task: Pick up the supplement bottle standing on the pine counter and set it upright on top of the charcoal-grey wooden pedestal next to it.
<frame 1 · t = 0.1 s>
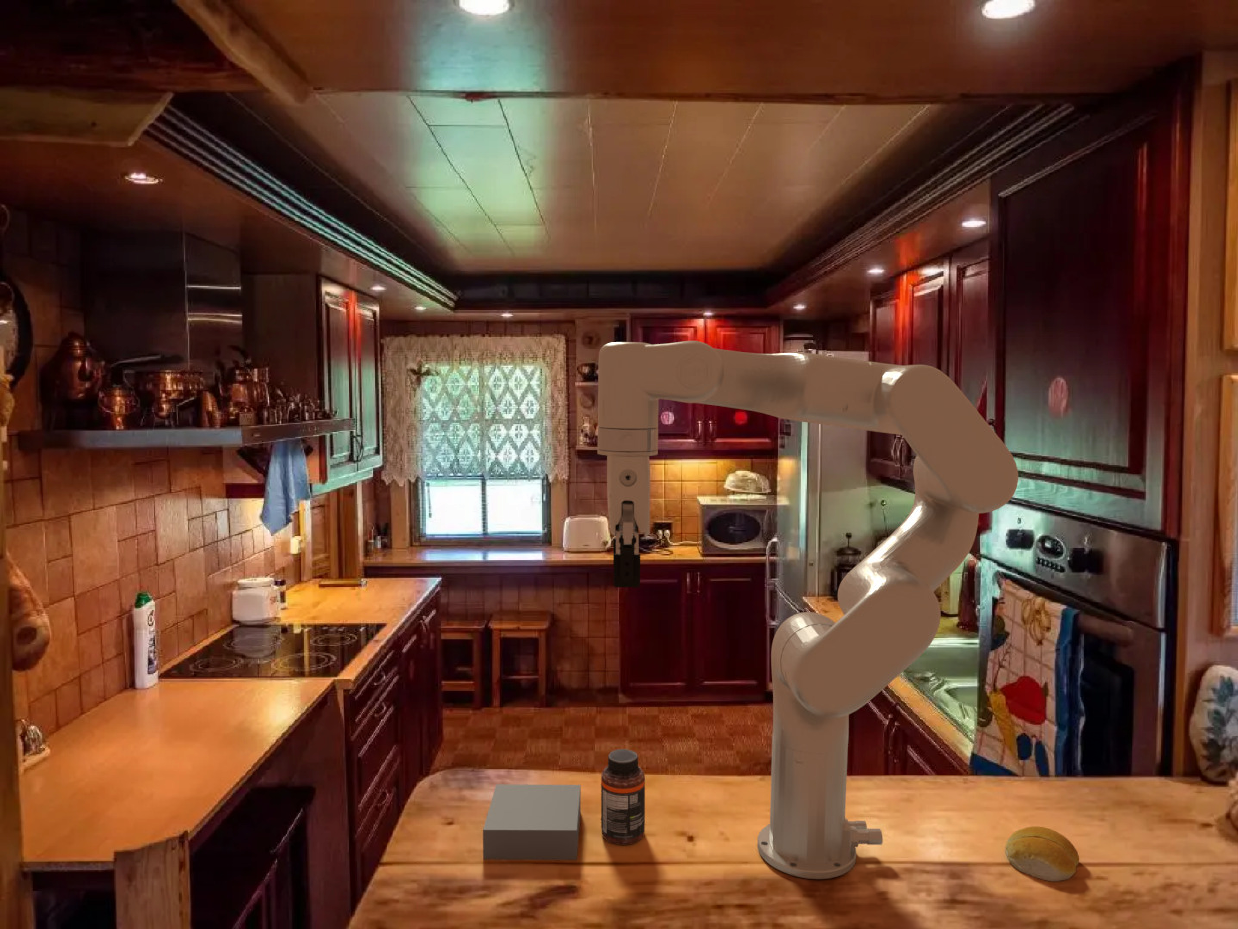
hand: (625, 577, 104), 37 cm above the worktop, tool pointing down, fingers open, 9 cm apart
supplement bottle: (622, 836, 112), on the worktop
bread roll: (1041, 865, 106), on the worktop
pedestal: (534, 834, 112), on the worktop
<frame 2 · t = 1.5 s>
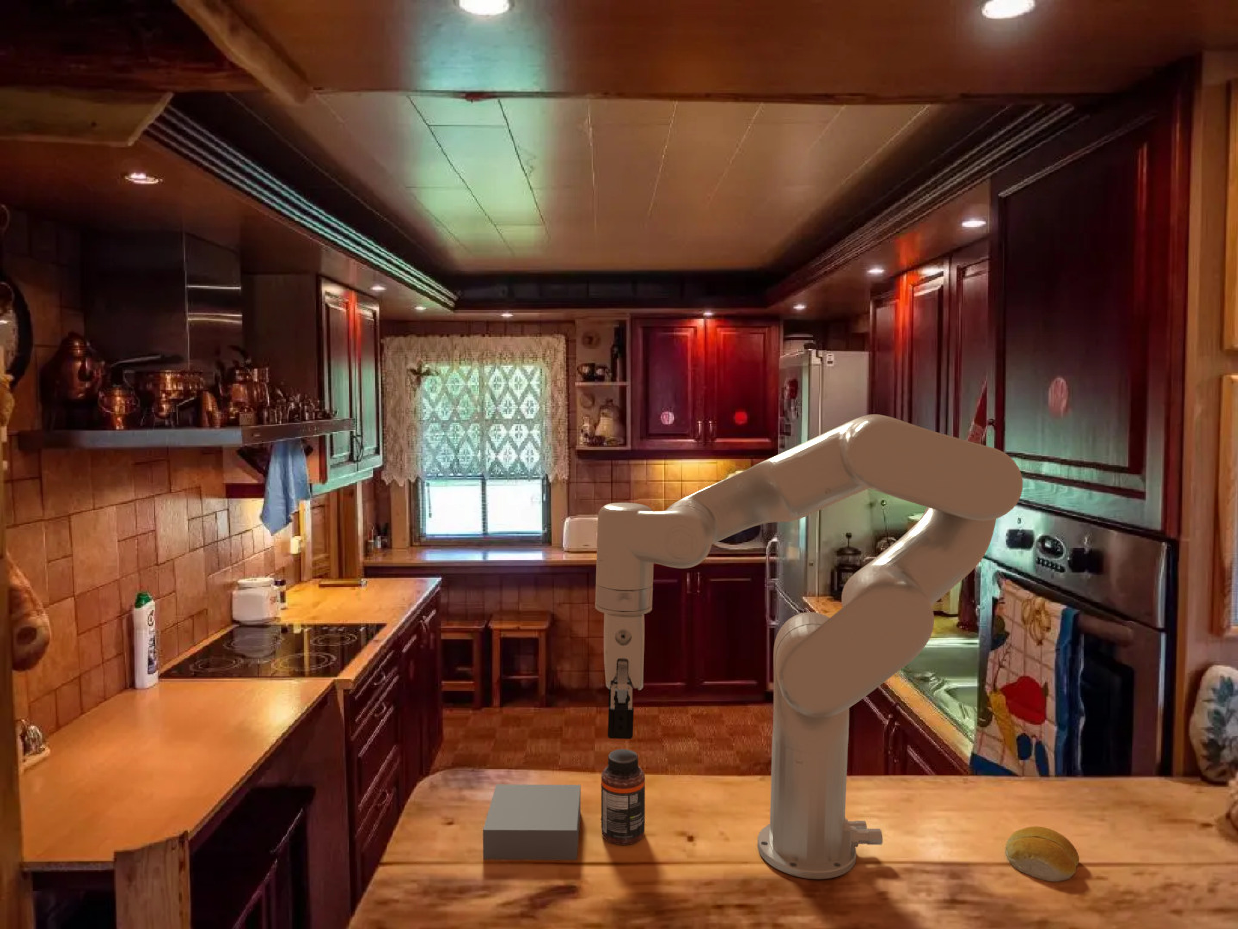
hand: (619, 722, 110), 16 cm above the worktop, tool pointing down, fingers open, 9 cm apart
nothing on the worktop moved.
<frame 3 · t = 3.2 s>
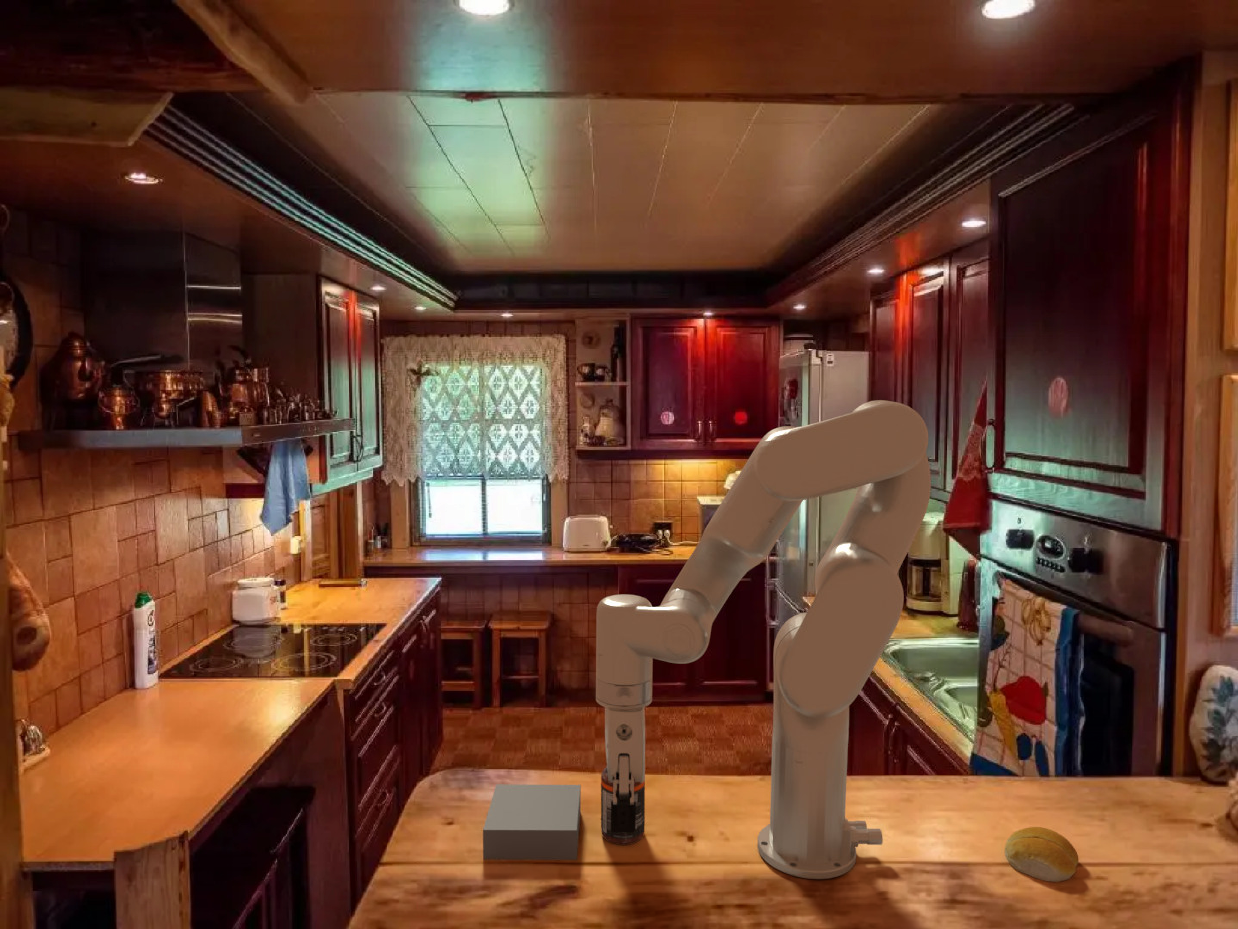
hand: (622, 816, 111), 3 cm above the worktop, tool pointing down, fingers closed on supplement bottle, 6 cm apart
supplement bottle: (622, 836, 112), on the worktop, touching gripper
everything else where it was.
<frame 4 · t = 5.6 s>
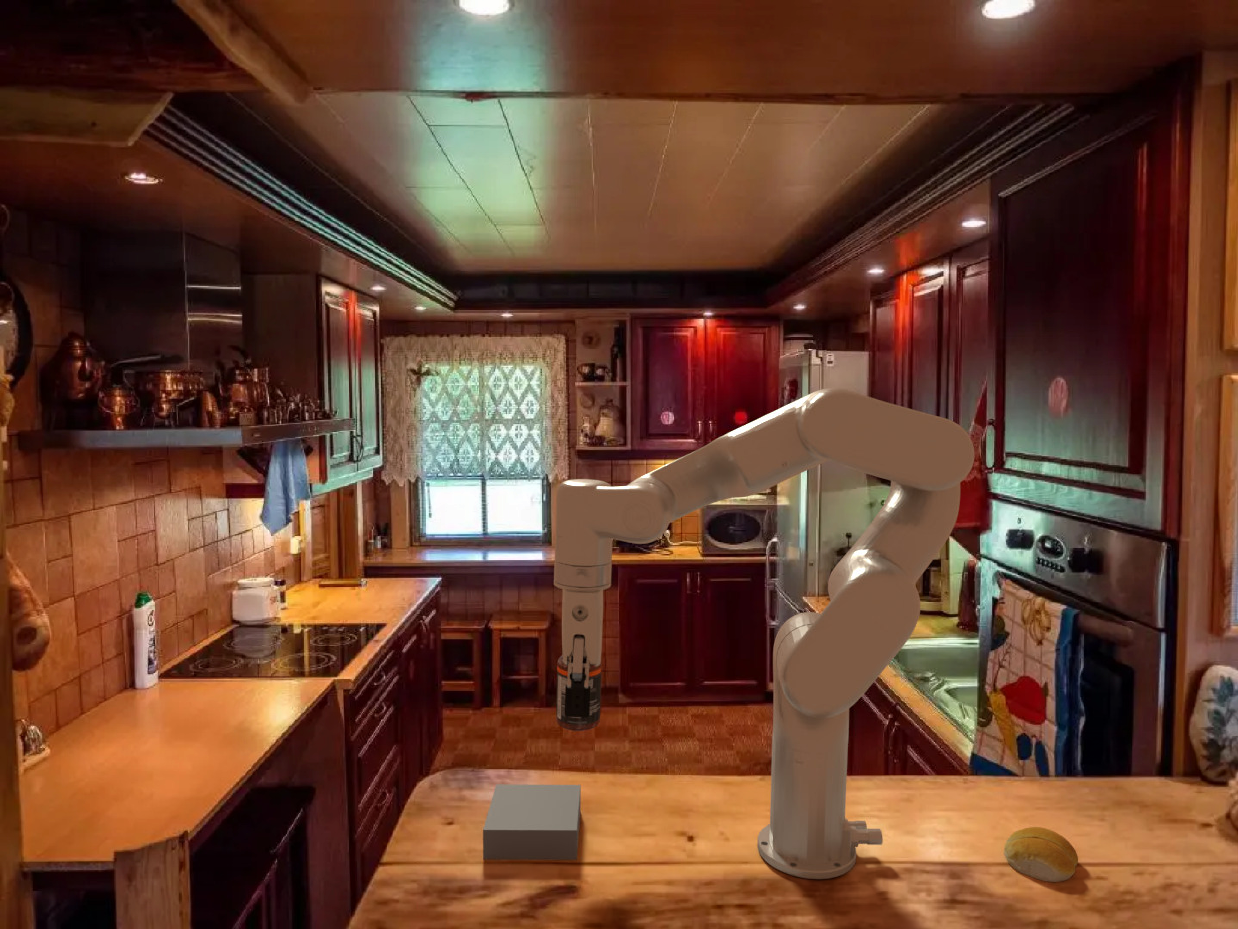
hand: (578, 704, 110), 18 cm above the worktop, tool pointing down, fingers closed on supplement bottle, 6 cm apart
supplement bottle: (577, 725, 110), point 15 cm above the worktop, touching gripper
everything else where it was.
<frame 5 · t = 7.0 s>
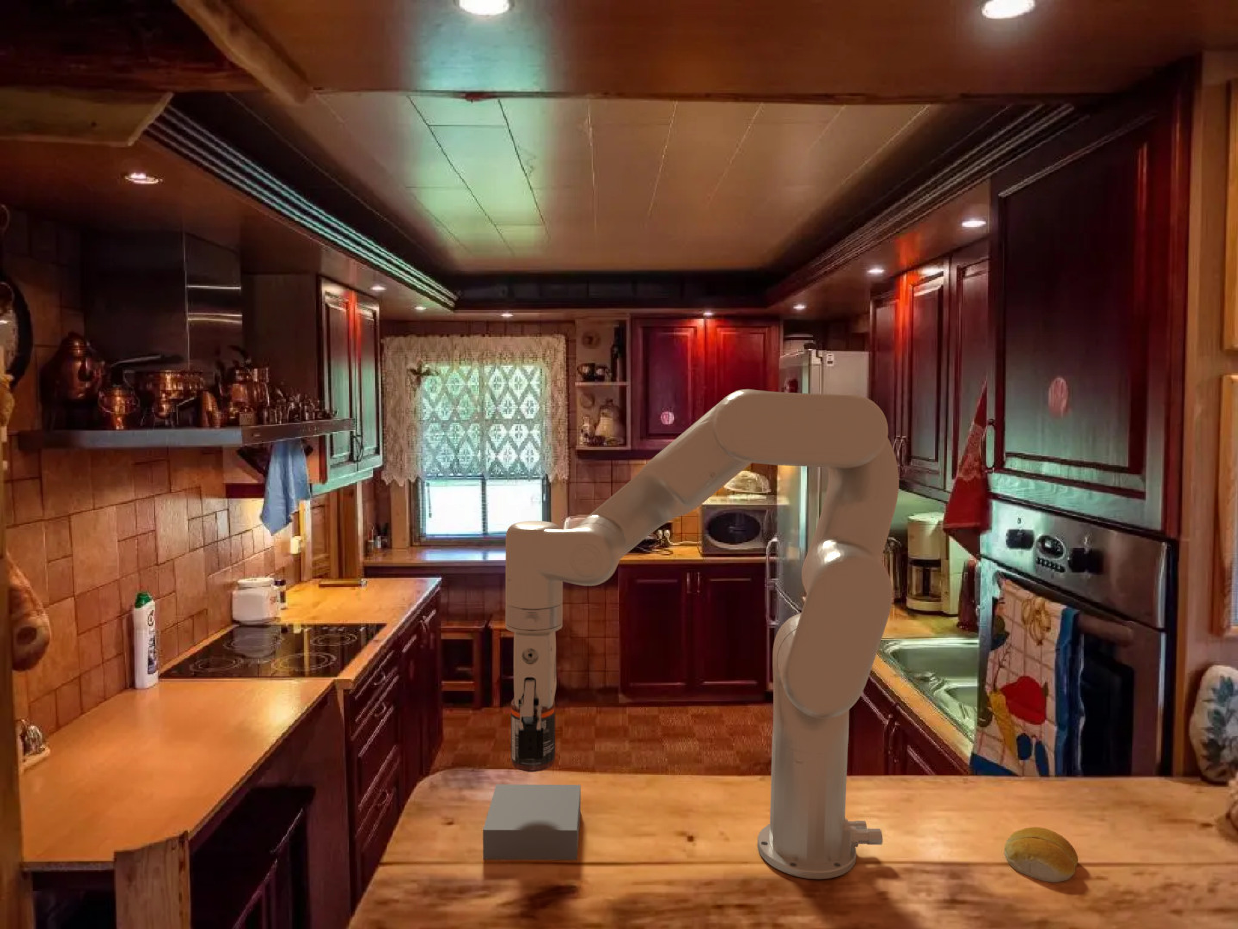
hand: (533, 745, 110), 13 cm above the worktop, tool pointing down, fingers closed on supplement bottle, 6 cm apart
supplement bottle: (533, 765, 111), point 10 cm above the worktop, touching gripper
everything else where it was.
when the fingers open (8 cm above the worktop, at t = 8.2 s): supplement bottle drops 1 cm, resting on pedestal.
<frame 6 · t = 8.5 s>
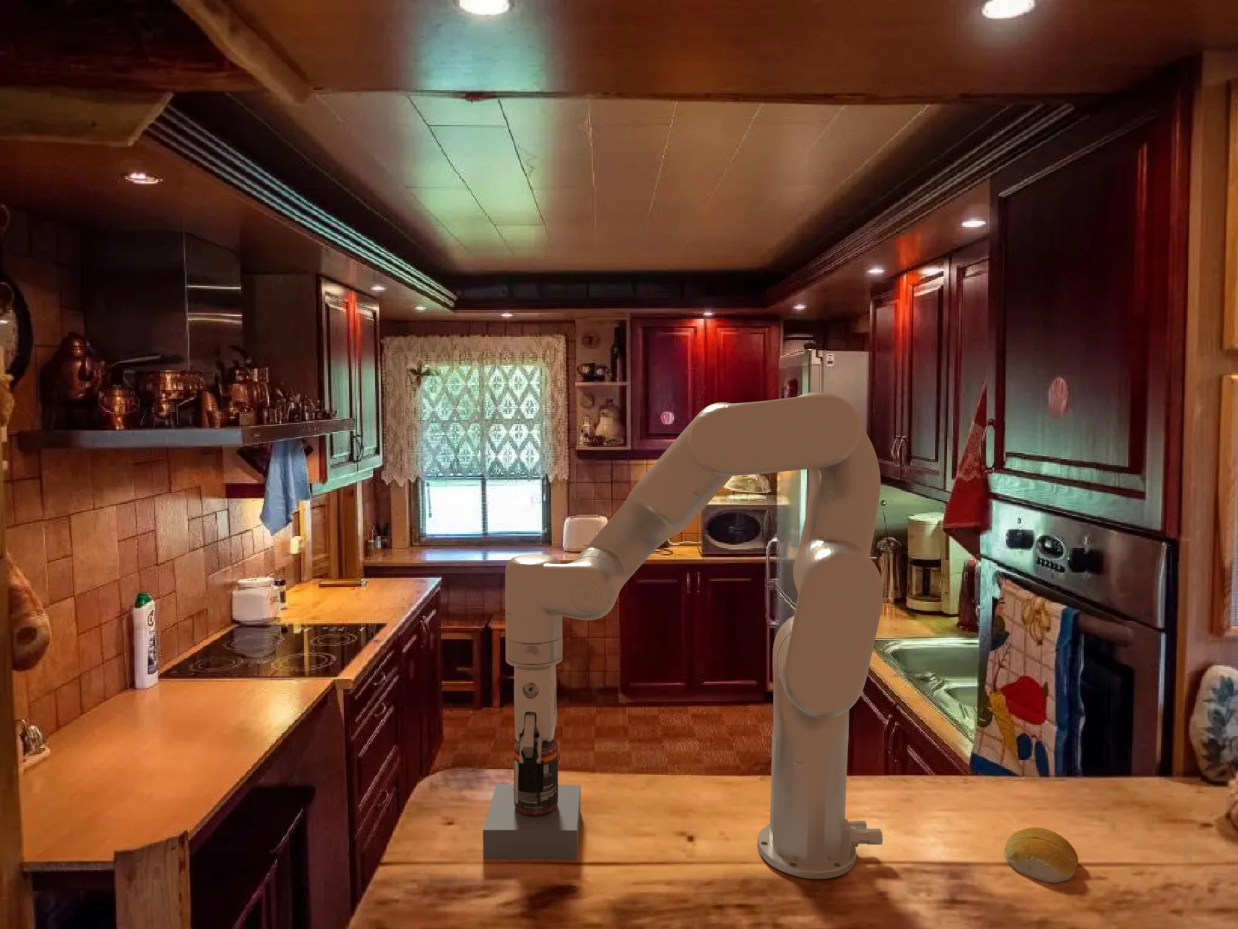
hand: (534, 774, 111), 9 cm above the worktop, tool pointing down, fingers open, 8 cm apart
supplement bottle: (535, 808, 111), point 4 cm above the worktop, touching pedestal
everything else where it was.
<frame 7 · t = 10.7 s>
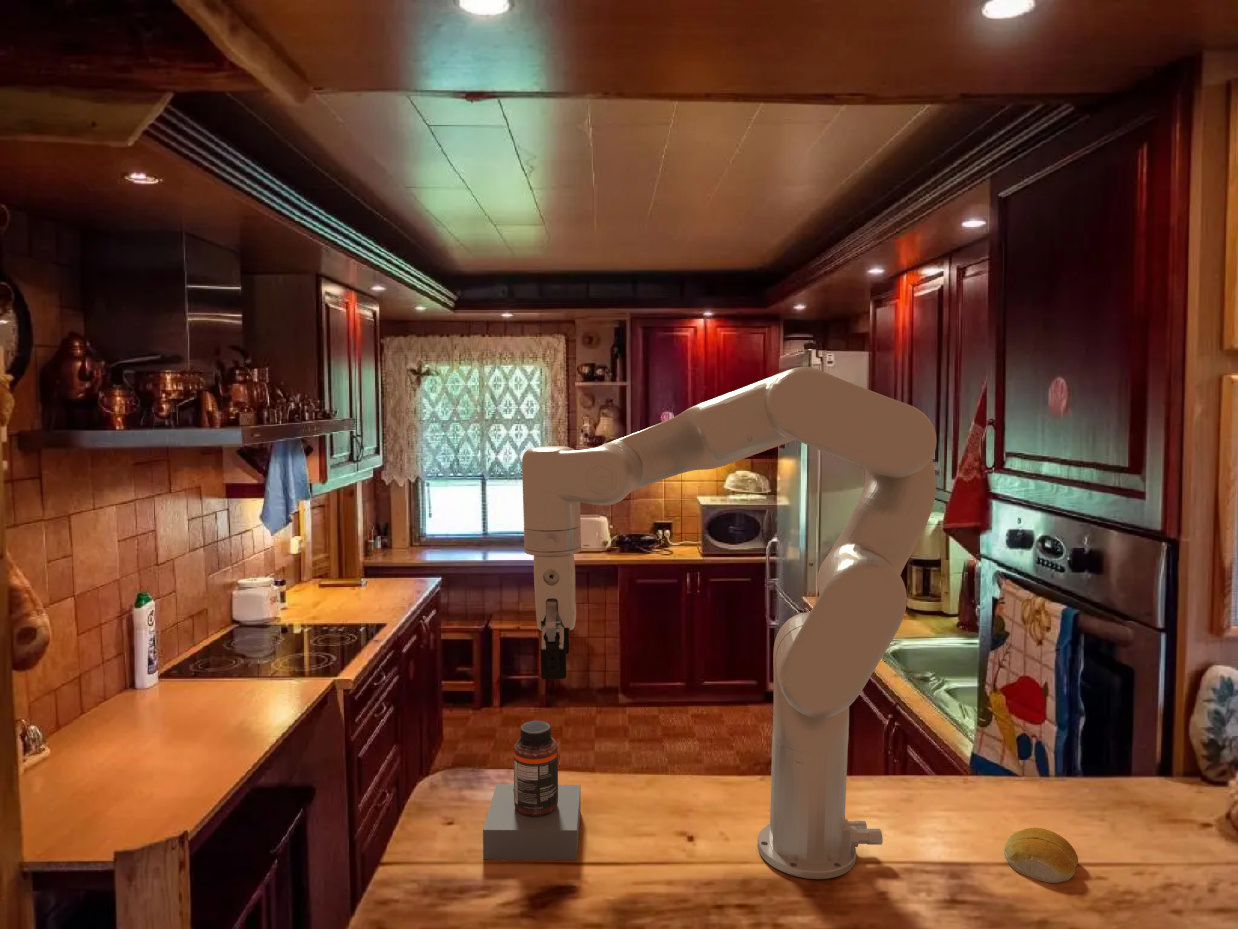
hand: (555, 665, 111), 23 cm above the worktop, tool pointing down, fingers open, 9 cm apart
nothing on the worktop moved.
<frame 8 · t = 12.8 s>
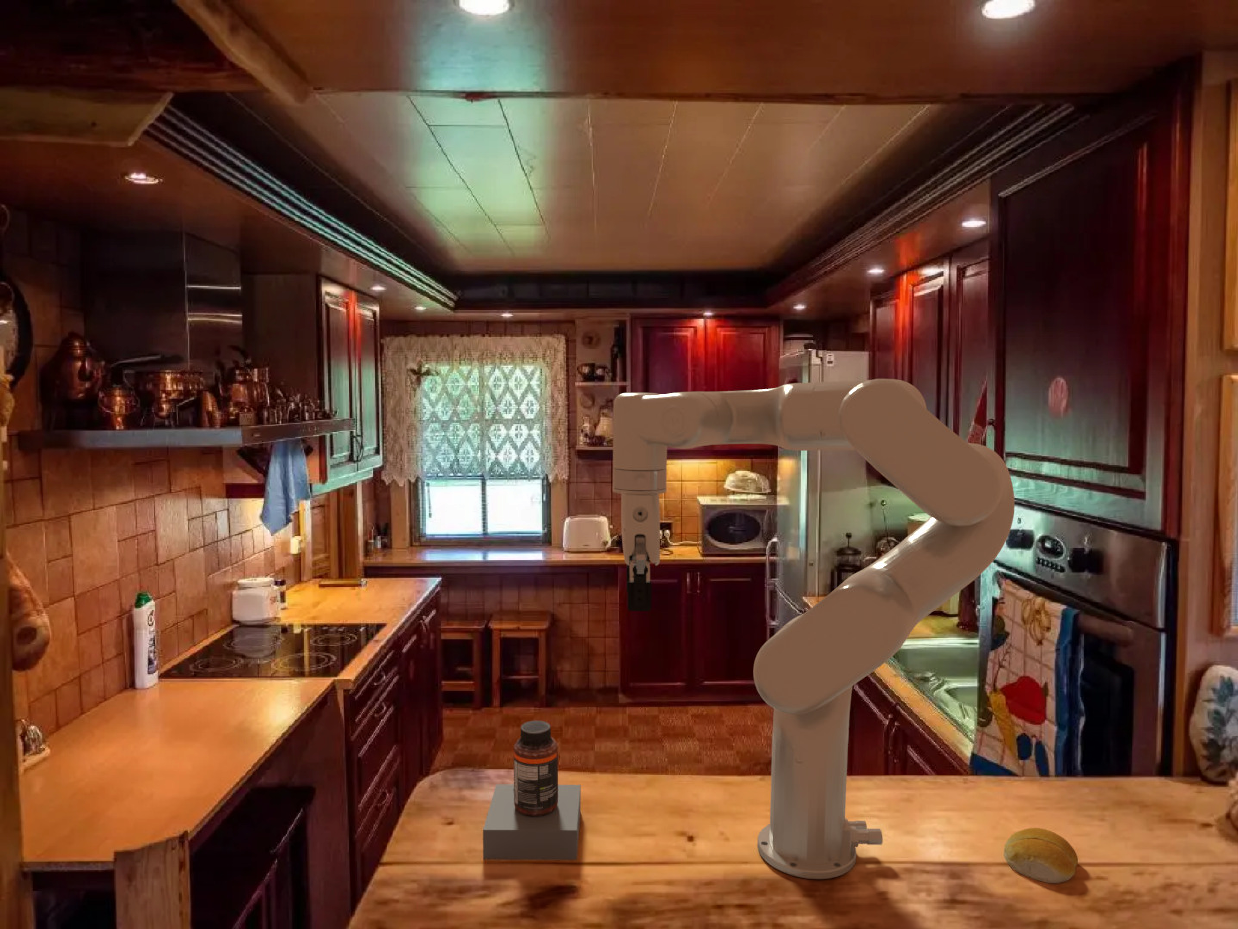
hand: (638, 601, 117), 30 cm above the worktop, tool pointing down, fingers open, 9 cm apart
nothing on the worktop moved.
at the end: supplement bottle inside the target area on the pedestal (0.3 cm from its centre), point 3.8 cm above the pedestal's base; supplement bottle tilted 0°; supplement bottle touching pedestal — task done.
